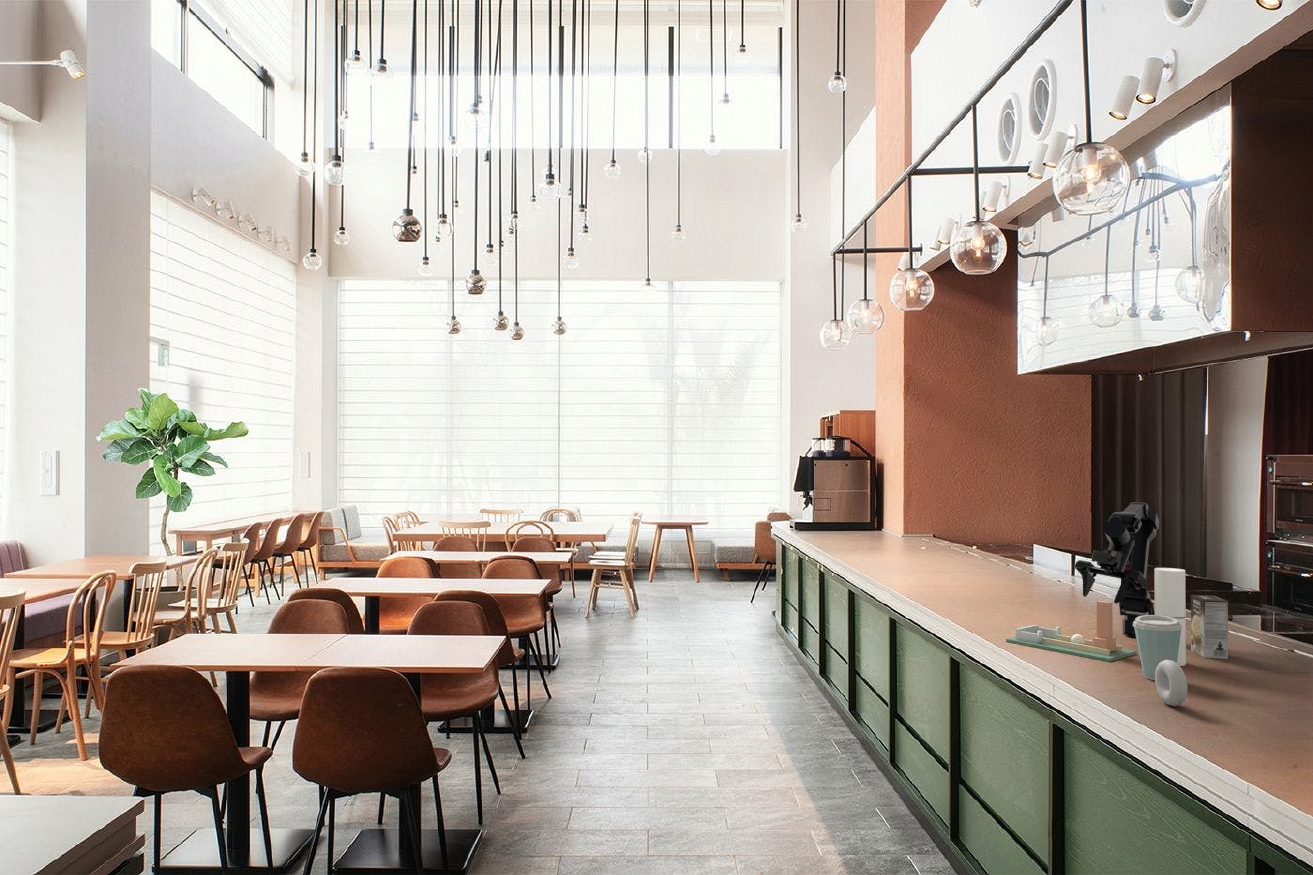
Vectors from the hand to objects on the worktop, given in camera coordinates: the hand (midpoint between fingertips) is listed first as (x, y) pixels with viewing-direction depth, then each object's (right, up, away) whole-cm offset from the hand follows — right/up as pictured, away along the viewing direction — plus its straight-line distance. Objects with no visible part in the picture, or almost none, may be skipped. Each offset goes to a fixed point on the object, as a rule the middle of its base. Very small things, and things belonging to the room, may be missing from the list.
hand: (1099, 599), depth 244 cm
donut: (-13, -13, -55) cm, 58 cm away
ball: (-6, -12, 0) cm, 13 cm away
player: (-2, -13, -6) cm, 14 cm away
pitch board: (-8, -14, +2) cm, 16 cm away
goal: (-13, -14, +10) cm, 22 cm away
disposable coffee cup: (-2, -14, -32) cm, 34 cm away
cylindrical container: (+11, -14, -15) cm, 24 cm away
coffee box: (+28, -15, -6) cm, 32 cm away
